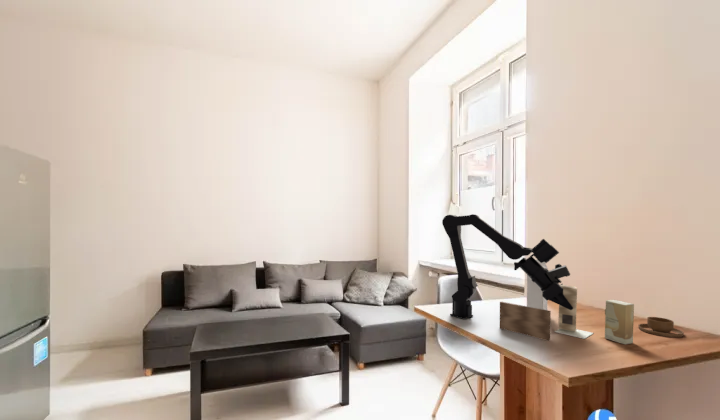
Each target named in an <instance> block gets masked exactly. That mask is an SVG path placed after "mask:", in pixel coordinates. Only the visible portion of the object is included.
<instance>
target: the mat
mask: <svg viewBox="0 0 720 420" xmlns="http://www.w3.org/2000/svg"><path fill="white" fill-rule="evenodd" d="M554 333H557V334H560V335H561V334H562V335H565V336H566V335H567V336H571V337H574V338H579V339H583V340H585V339H587V338H589V337H590V336H592V335H594V332H591V331H586V330H581V329H578V328H576V331H570V330H564V329H556V330H554Z"/></svg>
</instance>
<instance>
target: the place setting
mask: <svg viewBox="0 0 720 420" xmlns="http://www.w3.org/2000/svg"><path fill="white" fill-rule="evenodd" d="M605 311H606V308H605V309H604V312H605ZM646 320H647V321H646V323H640V324H638V329H639V330H640V331H641V332H645V333H647V334H650V335H655V336H659V337H666V338H682V337H683V336H684V331H683V330H681V329H678V328H675V327H674V324H675V323H674V321H673V320H671V319H668V318H664V317H663V318H662V317H657V316H648V317H647V319H646ZM647 328H649V329H651V330H649V329H647ZM670 332H674V333H670Z"/></svg>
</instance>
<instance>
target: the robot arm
mask: <svg viewBox="0 0 720 420" xmlns="http://www.w3.org/2000/svg"><path fill="white" fill-rule="evenodd" d="M441 224H442V226H443V229H444V231H445V233H446V235H447V237H448V238H449V241H450V245H451V250H452V251H451V252H452V254H453V258H454V264H455V268H456V272H457V282H456V283H457V284H456V286H457V291H456V292H454V293H453V294H451V298H452V299H451V300H452V307H451V309H452V310H451V311H452V313H450V314H449V316H451V317H454V318H455V317H456V318H459V319H468V318H471V317H472V318H473V317H474V314H473V305H472V300H470V299H471V297H472V296H474V294H475V293H476V292H477V287H478V284H477V281H476V275H474V276H473V275H471V273H470V270H469V266H468V262H467V259H466V254H465V250H464V246H463V241H462V236H461V235H462V227H463V226H470V225H471V226H473V227H474V228H475V229H477V230H478V231H479V232H480V233H482V234H483V235H485V236H486V237H487V238H489V239H490V240H491V241H492V242H494V243H495V244H496V245H497V246H498V247H499V248H500V250H501V251H502V252H503V253H504V254H505V255H506V256H507V258H509V259H511V260H515V261H514V262H513V265H514V266H513V267H514V268H513V270H514V271H517V270H518V269H521V270H522V271H523V272H524V273H525V274H526V276H527V275H528V276H529V277H530V278H531V279H532V281H533V282H535V283H536V284H537V285H538V286H539V287H540V288H541V290H542V291H543V293H542V296H543V297H544V298H545V299H546V300H547V301H551V302H552V303H555V304H557V305H558V306H559V305H561V306H563V307H565V308H567V309H569V310H572V309H573V307H572V305H571V304H570V303H569V301H568V300H567V298H566V297H565V296H564V294H563V288H562V287H561V286H560V285H564V284H563V283H562V280H561V278H565V277H569V276H570V277H571V273H570V271H569V269H568V267H567V265H562V264H560V263H558V264H555V265H554V268H552V269H550V270H549V268H548V269H545V268H543V267H542V266H541V265H540V264H539V263H538V262H537V261H536V260H538V261H540V262H541V263H542V262H545V263H546V264H547V263H549V262H550V261H551V260H552V259H554V258H555V257H557V255H558V254H560V252H559V250H557V248H555V247H554V246H553V245H552V244H550V243H549V242H548V241H546V240H545V238H542V239H541V240H540V241H539V242H538V243H537V244H536V245H535V246H534V247H532V248H531V247H526V246H523V245H522V244H521V243H518V242H517V241H514V240H512V239H511V238H509V237H507V236H505V235H503V234H502V233H500V232H499V231H498V230H497V229H495V228H494V227H493V226H491V225H490V224H489V223H487V222H486V221H485V220H483V219H482V218H480V216H479V215H477V214H469V215H461V216H460V215H459V216H457V215H456V214H454V215H453V214H447V215H445V216H444V217H443V218H442V222H441ZM525 256H529V257H528V258H525ZM516 260H519V261H517V262H516Z"/></svg>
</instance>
